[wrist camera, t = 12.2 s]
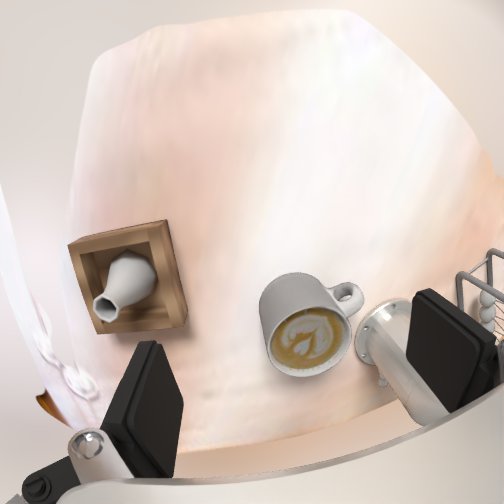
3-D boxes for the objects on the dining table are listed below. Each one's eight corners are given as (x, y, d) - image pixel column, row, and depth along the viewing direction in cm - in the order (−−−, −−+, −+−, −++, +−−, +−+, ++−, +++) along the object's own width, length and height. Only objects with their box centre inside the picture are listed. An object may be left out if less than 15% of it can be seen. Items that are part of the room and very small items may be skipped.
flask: (168, 272, 37) (148, 307, 27) (141, 309, 38) (118, 349, 29) (125, 239, 35) (93, 263, 26) (100, 278, 37) (68, 310, 27)
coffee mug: (270, 343, 42) (281, 387, 33) (249, 286, 39) (254, 324, 30) (353, 312, 42) (381, 348, 32) (340, 253, 39) (372, 280, 29)
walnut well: (187, 310, 40) (183, 326, 35) (108, 319, 39) (97, 334, 35) (166, 219, 36) (158, 226, 32) (82, 236, 36) (67, 245, 31)
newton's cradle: (487, 351, 49) (528, 390, 32) (457, 375, 50) (497, 420, 33) (488, 244, 41) (555, 275, 24) (454, 269, 41) (524, 311, 24)
